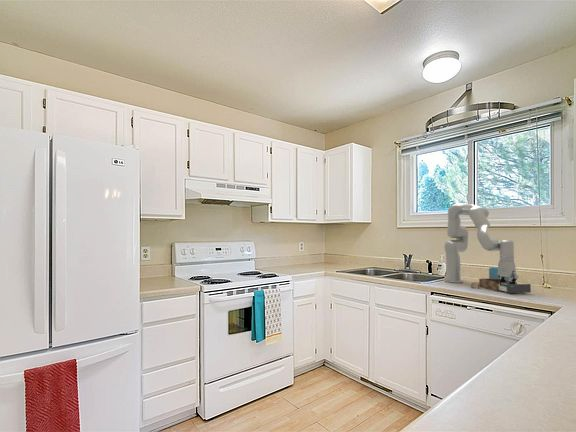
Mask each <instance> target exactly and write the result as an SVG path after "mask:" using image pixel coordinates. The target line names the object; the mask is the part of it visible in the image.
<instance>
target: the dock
mask: <svg viewBox="0 0 576 432" xmlns="http://www.w3.org/2000/svg"><path fill="white" fill-rule="evenodd" d="M478 279H479V282H478V283H479V288H483V289H486V290H490V291H495V292H503V291H502V290H498V284H500V279H498V278H493V279H489V278H478ZM505 282H510V281H508V280H505ZM515 284H518V283H517V281H516V282H515Z"/></svg>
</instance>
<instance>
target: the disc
mask: <svg viewBox="0 0 576 432" xmlns="http://www.w3.org/2000/svg"><path fill="white" fill-rule="evenodd" d="M507 284H509V282H501V286H505V287H507Z"/></svg>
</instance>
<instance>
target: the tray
mask: <svg viewBox="0 0 576 432" xmlns="http://www.w3.org/2000/svg"><path fill="white" fill-rule="evenodd" d="M531 285H532V284H531V283H517V284H507V287H505V286H500V284H498V290H502V291H501V292H506V293H509V294H511V293H512V294H515V293H517V294H518V293H519V294H520V293H525V294H526V293H531V291H532V290H531V287H532V286H531Z"/></svg>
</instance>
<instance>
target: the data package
mask: <svg viewBox="0 0 576 432" xmlns="http://www.w3.org/2000/svg"><path fill="white" fill-rule="evenodd" d="M497 272H498V266H495V267H494V266H491V267H489V269H488V279H493V278H498V279H499V277H498V275H497ZM504 280H508V281H510V279H509V278H508V277H505V279H504Z"/></svg>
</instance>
